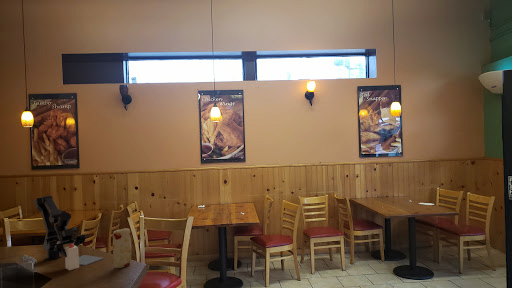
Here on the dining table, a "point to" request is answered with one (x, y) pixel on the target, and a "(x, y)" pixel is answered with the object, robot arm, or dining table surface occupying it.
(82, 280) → the dining table surface
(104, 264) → the dining table surface
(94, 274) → the dining table surface
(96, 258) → the placemat
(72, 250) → the big red button box
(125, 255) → the food model
